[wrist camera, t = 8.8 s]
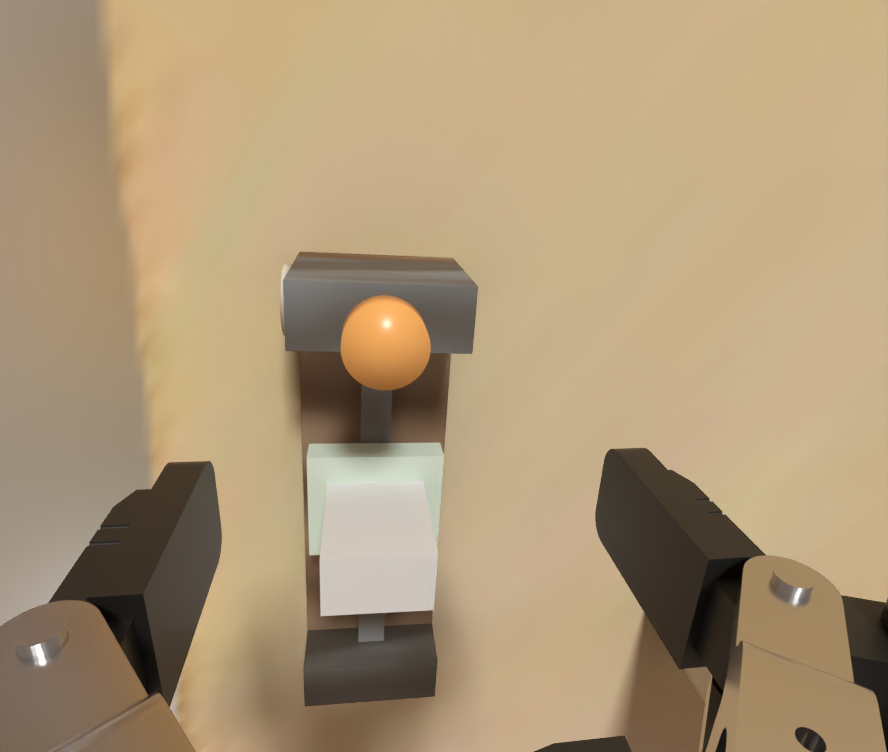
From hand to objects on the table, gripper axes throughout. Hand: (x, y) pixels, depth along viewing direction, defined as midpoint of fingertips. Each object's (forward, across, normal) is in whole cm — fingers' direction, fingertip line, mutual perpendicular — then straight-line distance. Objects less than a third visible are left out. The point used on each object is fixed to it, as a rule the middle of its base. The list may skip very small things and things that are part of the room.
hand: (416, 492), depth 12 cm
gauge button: (+11, 0, 0) cm, 11 cm away
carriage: (+17, 0, +11) cm, 21 cm away
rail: (+20, +1, +12) cm, 24 cm away
